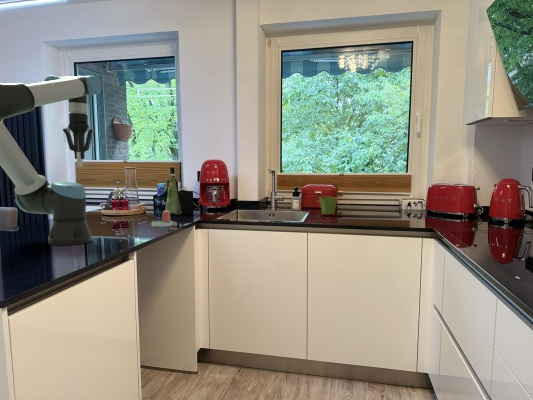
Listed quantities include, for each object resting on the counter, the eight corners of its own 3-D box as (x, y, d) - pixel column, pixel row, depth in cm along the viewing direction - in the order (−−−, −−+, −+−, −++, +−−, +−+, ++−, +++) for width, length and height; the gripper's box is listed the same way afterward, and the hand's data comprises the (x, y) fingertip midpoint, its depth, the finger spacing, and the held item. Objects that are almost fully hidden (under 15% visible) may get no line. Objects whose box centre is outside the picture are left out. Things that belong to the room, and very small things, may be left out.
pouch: (174, 215, 228) (174, 174, 226) (158, 214, 233) (158, 173, 231) (185, 213, 238) (185, 173, 236) (170, 212, 243) (170, 173, 241)
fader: (168, 222, 189) (168, 211, 189) (162, 222, 189) (162, 211, 189) (170, 220, 194) (170, 210, 194) (164, 220, 194) (164, 210, 194)
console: (170, 226, 190) (170, 222, 190) (151, 226, 189) (151, 222, 189) (171, 225, 195) (171, 221, 194) (153, 225, 194) (153, 221, 194)
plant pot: (316, 214, 243) (316, 197, 242) (334, 214, 244) (334, 197, 243) (320, 217, 231) (321, 198, 230) (340, 217, 232) (340, 198, 231)
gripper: (96, 114, 175) (97, 166, 177) (66, 114, 174) (68, 166, 176) (90, 112, 167) (91, 166, 170) (59, 111, 166) (61, 166, 168)
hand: (79, 166), depth 173 cm, fingers closed
